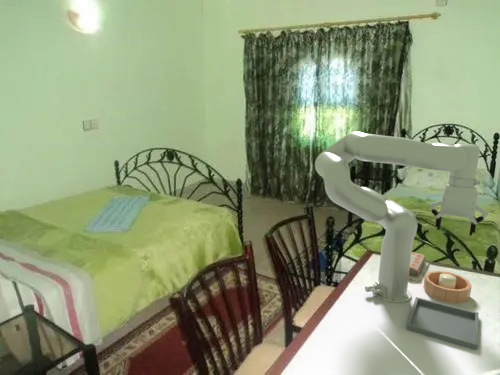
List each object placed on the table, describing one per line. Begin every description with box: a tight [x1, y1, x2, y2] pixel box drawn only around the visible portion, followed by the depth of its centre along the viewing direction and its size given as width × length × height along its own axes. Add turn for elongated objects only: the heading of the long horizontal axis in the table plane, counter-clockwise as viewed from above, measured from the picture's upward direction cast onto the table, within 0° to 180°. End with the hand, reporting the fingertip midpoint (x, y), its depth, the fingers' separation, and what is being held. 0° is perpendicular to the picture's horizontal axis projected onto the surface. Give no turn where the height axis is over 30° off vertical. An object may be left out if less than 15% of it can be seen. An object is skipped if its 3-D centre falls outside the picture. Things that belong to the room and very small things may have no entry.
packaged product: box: [408, 251, 430, 282], centre depth 152 cm, size 18×5×10 cm
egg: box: [438, 274, 456, 289], centre depth 133 cm, size 5×5×6 cm
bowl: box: [423, 270, 473, 304], centre depth 134 cm, size 14×14×5 cm
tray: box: [406, 296, 479, 351], centre depth 116 cm, size 18×18×2 cm
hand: (454, 231), depth 129 cm, fingers open, 9 cm apart
